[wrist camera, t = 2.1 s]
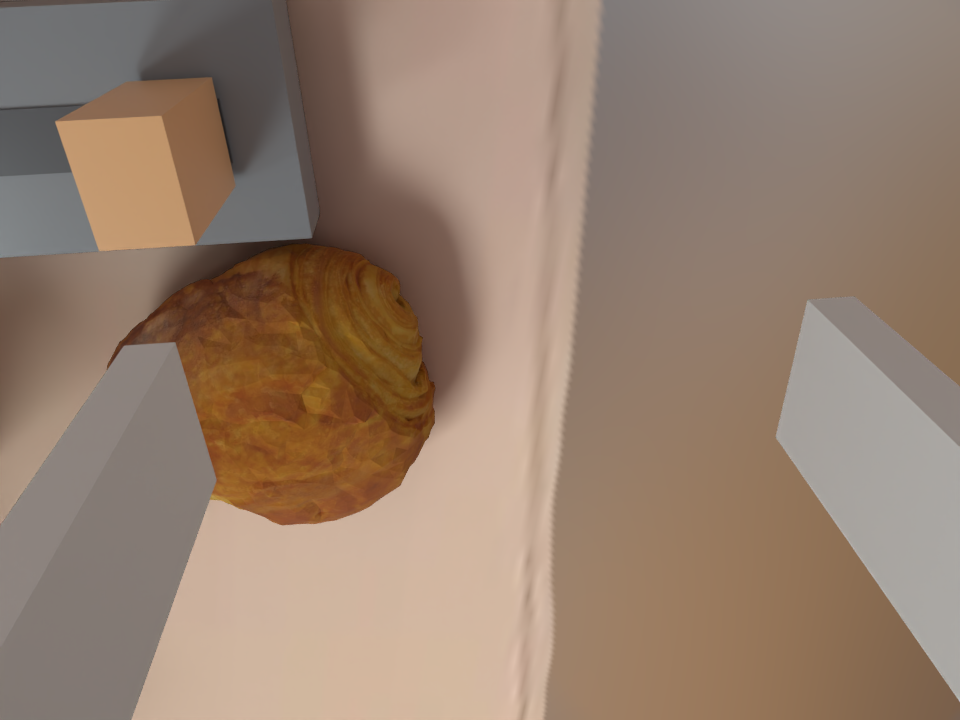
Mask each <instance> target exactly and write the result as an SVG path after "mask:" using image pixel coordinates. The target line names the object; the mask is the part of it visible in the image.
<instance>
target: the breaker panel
mask: <svg viewBox="0 0 960 720" xmlns="http://www.w3.org/2000/svg"><path fill="white" fill-rule="evenodd" d="M205 77H212V80H213V85H214V89H215V94H216V98H217V103H218V108H219V112H220V117H221V121H222V126H223V130H224V135H225V139H226V144H227V148H228V153H229V157H230V162H231V166H232V171H233V176H234V180H235V185H236V186H235V188H234V189H233V191H232V192H231V194H230V195H229V197H228V198H227V200H226V201H225V202H224V204H223V205H222V207H221V208H220V210H219V211H218V213H217V214H216V216H215V217H214V219H213V220H212V222H211V223H210V225H209V226H208V228H207V229H206V230H205V232H204V233H203V235H202V236H201V238H200V239H199V241H198V242H197V244H196V245H211V244H227V243H243V242H259V241H276V240H292V239H308V238H312V237H313V233H314V230H315V227H316V224H317V221H318V218H319V215H320V209H319V203H318V197H317V190H316V184H315V178H314V172H313V165H312V159H311V153H310V147H309V140H308V134H307V128H306V122H305V116H304V109H303V103H302V97H301V91H300V84H299V78H298V72H297V66H296V59H295V53H294V47H293V41H292V34H291V28H290V22H289V16H288V9H287V3H286V0H19V1H0V258H3V257H19V256H35V255H51V254H67V253H83V252H99V249H98V246H97V244H96V241H95V238H94V235H93V232H92V229H91V226H90V223H89V220H88V217H87V214H86V211H85V208H84V205H83V202H82V200H81V197H80V194H79V191H78V188H77V185H76V182H75V179H74V176H73V173H72V170H71V167H70V164H69V161H68V158H67V155H66V153H65V150H64V147H63V144H62V141H61V138H60V135H59V132H58V129H57V126H56V123H55V121H57V120H59V119H60V118H62V117H64V116H66V115H68V114H69V113H71V112H73V111H75V110H77V109H78V108H80V107H82V106H84V105H85V104H87V103H89V102H91V101H93V100H94V99H96V98H98V97H100V96H102V95H103V94H105V93H107V92H109V91H111V90H112V89H114V88H116V87H118V86H120V85H121V84H123V83H125V82H127V81H147V80H166V79H186V78H205ZM192 246H195V245H192ZM176 247H179V246H176ZM160 248H163V247H160ZM144 249H147V248H144ZM128 250H131V249H128ZM112 251H115V250H112Z"/></svg>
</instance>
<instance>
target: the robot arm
mask: <svg viewBox="0 0 960 720" xmlns="http://www.w3.org/2000/svg"><path fill="white" fill-rule="evenodd" d="M776 438H777V440H778V441H779V443H780V444H781V446H782V447H783V448H784V450H785V451H786V453H787V454H788V456H789V457H790V458H791V460H792V461H793V463H794V464H795V466H796V467H797V468H798V470H799V471H800V473H801V474H802V476H803V477H804V478H805V480H806V481H807V483H808V484H809V486H810V487H811V488H812V490H813V491H814V493H815V494H816V496H817V497H818V499H819V500H820V501H821V503H822V504H823V506H824V507H825V509H826V510H827V512H828V513H829V514H830V516H831V517H832V519H833V520H834V522H835V523H836V524H837V526H838V527H839V529H840V530H841V532H842V533H843V535H844V536H845V537H846V539H847V540H848V542H849V543H850V545H851V546H852V548H853V549H854V550H855V552H856V553H857V555H858V556H859V558H860V559H861V560H862V562H863V563H864V565H865V566H866V568H867V569H868V570H869V572H870V573H871V575H872V576H873V578H874V579H875V581H876V582H877V583H878V585H879V586H880V588H881V589H882V591H883V592H884V593H885V595H886V596H887V598H888V599H889V601H890V602H891V603H892V605H893V606H894V608H895V609H896V611H897V612H898V614H899V615H900V616H901V618H902V619H903V620H904V622H905V624H906V625H907V627H908V628H909V629H910V631H911V632H912V634H913V635H914V636H915V638H916V639H917V641H918V642H919V644H920V645H921V647H922V648H923V650H924V651H925V652H926V654H927V655H928V657H929V658H930V660H931V661H932V662H933V664H934V665H935V667H936V668H937V670H938V671H939V672H940V674H941V675H942V677H943V678H944V680H945V681H946V683H947V684H948V685H949V687H950V688H951V690H952V691H953V692H954V694H955V695H956V697H957V698H958V700H959V701H960V387H959V386H958V385H957V384H956V383H955V382H954V381H952V380H951V379H950V378H949V377H948V376H946V375H945V374H944V373H943V372H942V371H941V370H940V369H938V368H937V367H936V366H935V365H934V364H933V363H931V362H930V361H929V360H928V359H927V358H926V357H924V356H923V355H922V354H921V353H920V352H919V351H917V350H916V349H915V348H914V347H913V346H912V345H910V344H909V343H908V342H907V341H906V340H905V339H903V338H902V337H901V336H900V335H899V334H898V333H896V332H895V331H894V330H893V329H892V328H891V327H889V326H888V325H887V324H886V323H885V322H884V321H882V320H881V319H880V318H879V317H878V316H877V315H875V314H874V313H873V312H872V311H871V310H870V309H868V308H867V307H866V306H865V305H864V304H863V303H861V302H860V301H859V300H858V299H857V298H856V297H840V298H825V299H810V300H807V305H806V309H805V313H804V317H803V322H802V326H801V330H800V335H799V339H798V343H797V348H796V352H795V357H794V361H793V365H792V369H791V373H790V378H789V382H788V387H787V391H786V395H785V399H784V404H783V408H782V412H781V417H780V421H779V425H778V430H777V434H776ZM216 480H217V479H216V476H215V473H214V469H213V466H212V463H211V459H210V456H209V453H208V449H207V446H206V443H205V439H204V436H203V433H202V429H201V426H200V423H199V419H198V416H197V413H196V409H195V406H194V403H193V400H192V396H191V393H190V390H189V386H188V383H187V380H186V376H185V373H184V370H183V366H182V363H181V360H180V356H179V353H178V350H177V346H176V343H175V342H171V343H156V344H141V345H126V346H123V348H122V349H121V351H120V352H119V354H118V355H117V357H116V358H115V359H114V361H113V362H112V364H111V365H110V367H109V368H108V370H107V371H106V373H105V374H104V375H103V377H102V378H101V380H100V381H99V383H98V384H97V386H96V387H95V389H94V390H93V391H92V393H91V394H90V396H89V397H88V399H87V400H86V402H85V403H84V405H83V406H82V407H81V409H80V410H79V412H78V413H77V415H76V416H75V418H74V419H73V421H72V422H71V423H70V425H69V426H68V428H67V429H66V431H65V432H64V434H63V435H62V437H61V438H60V440H59V441H58V442H57V444H56V445H55V447H54V448H53V450H52V451H51V453H50V454H49V456H48V457H47V458H46V460H45V461H44V463H43V464H42V466H41V467H40V469H39V470H38V472H37V473H36V474H35V476H34V477H33V479H32V480H31V482H30V483H29V485H28V486H27V488H26V489H25V490H24V492H23V493H22V495H21V496H20V498H19V499H18V501H17V502H16V504H15V505H14V506H13V508H12V509H11V511H10V512H9V514H8V515H7V517H6V518H5V520H4V521H3V522H2V524H1V525H0V720H131V719H132V716H133V713H134V711H135V708H136V705H137V702H138V699H139V696H140V694H141V691H142V688H143V685H144V682H145V680H146V677H147V674H148V671H149V668H150V666H151V663H152V660H153V657H154V654H155V652H156V649H157V646H158V643H159V640H160V638H161V635H162V632H163V629H164V626H165V624H166V621H167V618H168V615H169V612H170V610H171V607H172V604H173V601H174V598H175V595H176V593H177V590H178V587H179V584H180V581H181V579H182V576H183V573H184V570H185V567H186V565H187V562H188V559H189V556H190V553H191V551H192V548H193V545H194V542H195V539H196V537H197V534H198V531H199V528H200V525H201V523H202V520H203V517H204V514H205V511H206V508H207V506H208V503H209V500H210V497H211V494H212V492H213V489H214V486H215V483H216Z"/></svg>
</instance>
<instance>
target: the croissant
mask: <svg viewBox="0 0 960 720" xmlns="http://www.w3.org/2000/svg"><path fill="white" fill-rule="evenodd" d="M399 293H400V283H399V280H398V279H397V278H396V277H395V276H394V275H393V274H392V273H390V272H388V271H386V270H384V269H382V268H380V267H377V266H375V265H372V264H371V263H370V262H369V260H366V259H365V258H364V257H363V256H362V255H361V254H358V253H354V252H350V251H344V250H341V249H339V248H334V247H325V246H319V245H311V244H306V243H305V244H290V245H287V246H282V247H276V248H270V249H268V250H266V251H263V252H261V253H259V254H257V255H255V256H253V257H251V258H249V259H248V260H246V261H243V262H240V263H238V264H235V265H234V267H233V268H231V269H229V270H227V271H226V272H225V273H223V274H222V275H220V276H218V277H215V278H213V279H211V280H209V279H203V280H199V281H197V282H194V283H192V284H189V285H187V286H186V287H184V288H183V289H181V290H179V291H178V292H176V293H175V294H173V295H172V296H171V297H170V298H168V299H167V300H166V301H165V302H164V303H163V304H162V305H161V306H159V307H158V308H157V309H156V310H155V311H154V312H153V313H151V314H150V315H149V317H148V318H147V319H145V320H144V321H142V322H140V323H139V324H138V325H137V326H136V327H135V328H133V329H132V330H131V331H130V333H129V334H128V335H127V336H126V338H124V339H123V340H122V341H121V342H119V344H118V346H117V348H116V350H115V352H114V354H113V356H112V358H111V359H110V361H109V363H108V366H107V370H108V368H109V367H110V365H111V364H112V362H113V361H114V359H115V358H116V357H117V355H118V354H119V352H120V351H121V349H122V348H123V346H126V345H141V344H156V343H171V342H175V343H176V346H177V350H178V353H179V356H180V360H181V363H182V366H183V370H184V373H185V376H186V380H187V383H188V386H189V390H190V393H191V396H192V400H193V403H194V406H195V409H196V413H197V416H198V419H199V423H200V426H201V429H202V433H203V436H204V439H205V443H206V446H207V449H208V453H209V456H210V459H211V463H212V466H213V469H214V473H215V476H216V479H217V480H216V483H215V486H214V489H213V492H212V494H211V497H210V499H211V500H221V501H224V502H226V503H228V504H231V505H233V506H235V507H237V508H239V509H243V510H247V511H250V512H253V513H255V514H258V515H261V516H263V517H266V518H267V519H269V520H270V521H272V522H274V523H277V524H280V525H292V524H317V523H322V522H326V521H334V520H338V519H340V518H343V517H346V516H349V515H352V514H354V513H357V512H360V511H362V510H364V509H366V508H368V507H369V506H371V505H372V504H374V503H375V502H376V501H378V500H379V499H380V498H382V497H383V496H385V495H386V494H388V493H390V492H391V491H393V490H394V489H396V488H397V487H399V486H400V485H401V483H402V481H403V479H404V477H405V475H406V473H407V471H408V469H409V467H410V466H411V465H412V464H413V463H414V462H415V460H416V458H417V457H418V455H419V453H420V451H421V449H422V447H423V444H424V442H425V441H426V440H427V438H428V437H429V434H430V431H431V429H432V427H433V425H434V423H435V411H434V409H433V397H434V392H435V385H434V382H430V381H429V377H428V372H427V369H426V367H425V364H424V362H422V345H421V343H422V339H423V337H421V336H419V330H418V320H417V317H416V316H415V315H414V313H413V311H412V309H411V307H410V305H409V303H408V302H407V301H406V300H405V299H404V298H402V297H401V296H400V295H399Z"/></svg>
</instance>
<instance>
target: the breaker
mask: <svg viewBox="0 0 960 720" xmlns="http://www.w3.org/2000/svg"><path fill="white" fill-rule="evenodd" d="M55 123H56V126H57V129H58V132H59V135H60V138H61V141H62V144H63V147H64V150H65V153H66V155H67V158H68V161H69V164H70V167H71V170H72V173H73V176H74V179H75V182H76V185H77V188H78V191H79V194H80V197H81V200H82V202H83V205H84V208H85V211H86V214H87V217H88V220H89V223H90V226H91V229H92V232H93V235H94V238H95V241H96V244H97V246H98V249H99V251H112V250H128V249H144V248H160V247H176V246H192V245H196V244H197V242H198V241H199V239H200V238H201V236H202V235H203V233H204V232H205V230H206V229H207V228H208V226H209V225H210V223H211V222H212V220H213V219H214V217H215V216H216V214H217V213H218V211H219V210H220V208H221V207H222V205H223V204H224V202H225V201H226V200H227V198H228V197H229V195H230V194H231V192H232V191H233V189H234V188H235V186H236V185H235V180H234V176H233V171H232V166H231V162H230V157H229V153H228V148H227V144H226V139H225V135H224V130H223V126H222V121H221V117H220V112H219V108H218V103H217V98H216V94H215V89H214V85H213V80H212V77H205V78H186V79H166V80H147V81H127V82H125V83H123V84H121V85H120V86H118V87H116V88H114V89H112V90H111V91H109V92H107V93H105V94H103V95H102V96H100V97H98V98H96V99H94V100H93V101H91V102H89V103H87V104H85V105H84V106H82V107H80V108H78V109H77V110H75V111H73V112H71V113H69V114H68V115H66V116H64V117H62V118H60V119H59V120H57V121H55Z"/></svg>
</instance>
